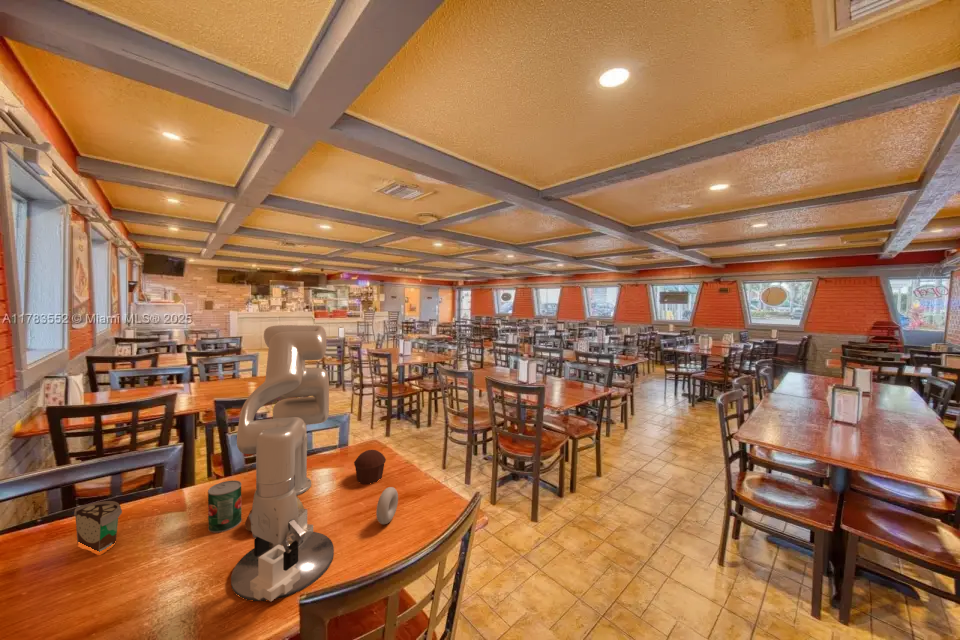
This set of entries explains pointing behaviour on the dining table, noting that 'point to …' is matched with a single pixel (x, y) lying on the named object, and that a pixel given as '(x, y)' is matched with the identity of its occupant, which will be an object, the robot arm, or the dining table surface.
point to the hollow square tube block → (273, 575)
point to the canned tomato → (224, 506)
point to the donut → (387, 505)
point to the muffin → (369, 466)
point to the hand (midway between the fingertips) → (276, 559)
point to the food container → (97, 524)
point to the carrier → (311, 563)
